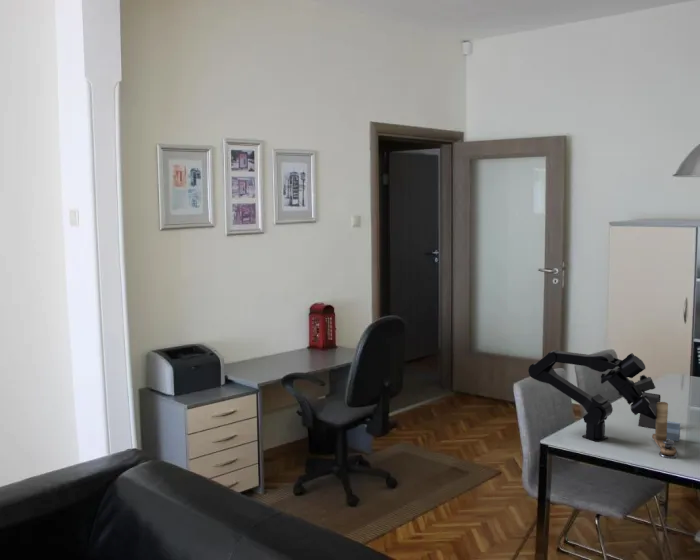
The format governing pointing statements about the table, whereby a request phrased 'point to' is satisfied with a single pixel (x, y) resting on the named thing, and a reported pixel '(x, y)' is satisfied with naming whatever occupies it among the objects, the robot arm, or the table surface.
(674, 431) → the bracket
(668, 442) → the pin stand
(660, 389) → the table surface
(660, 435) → the swing link
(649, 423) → the phone stand
